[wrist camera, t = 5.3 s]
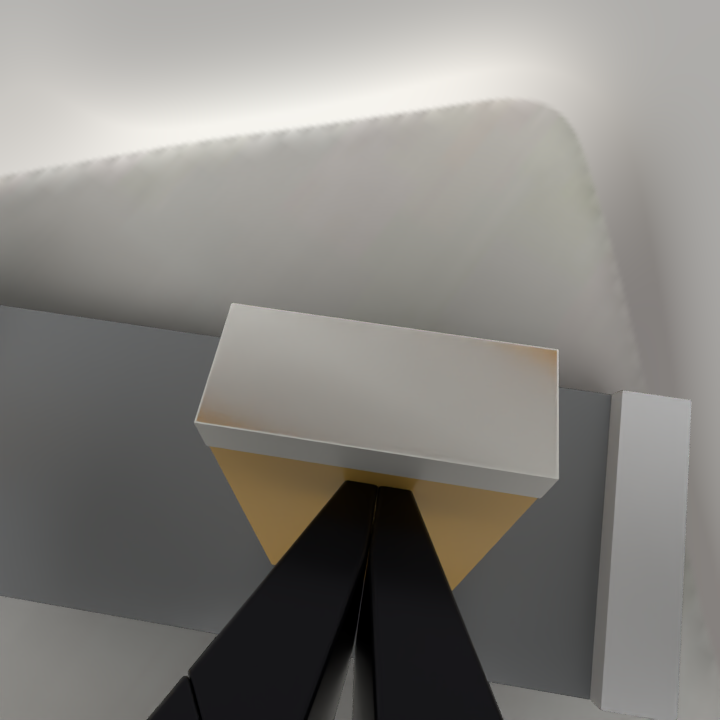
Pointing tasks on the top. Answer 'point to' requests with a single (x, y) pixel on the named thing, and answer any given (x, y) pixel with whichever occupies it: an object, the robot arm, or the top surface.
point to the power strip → (246, 555)
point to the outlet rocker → (380, 425)
